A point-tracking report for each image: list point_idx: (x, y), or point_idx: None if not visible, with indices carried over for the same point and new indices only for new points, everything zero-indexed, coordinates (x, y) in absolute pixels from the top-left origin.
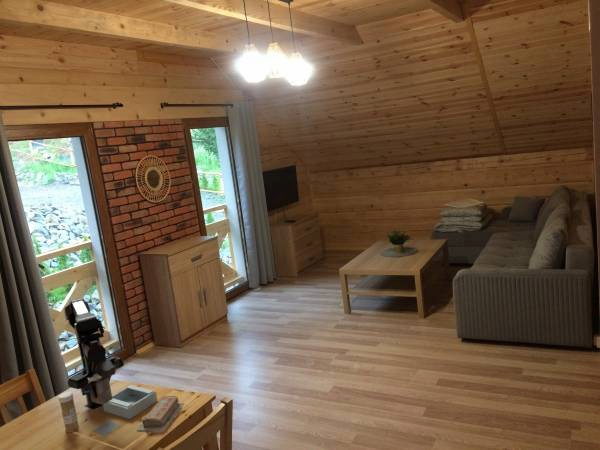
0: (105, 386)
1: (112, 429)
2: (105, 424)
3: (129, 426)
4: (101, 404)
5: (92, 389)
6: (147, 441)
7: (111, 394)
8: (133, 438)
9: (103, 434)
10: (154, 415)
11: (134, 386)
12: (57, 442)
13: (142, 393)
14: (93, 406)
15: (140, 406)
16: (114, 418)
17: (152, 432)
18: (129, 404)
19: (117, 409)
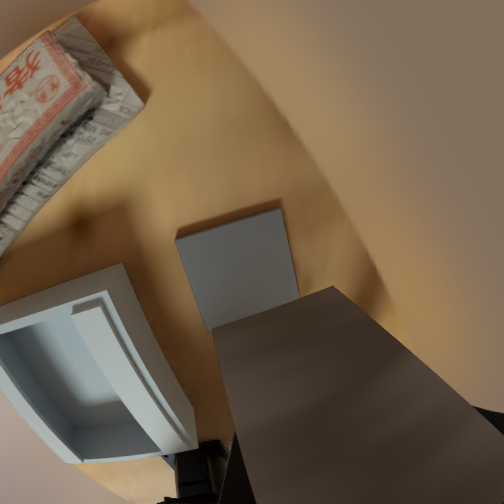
0: (355, 458)
1: (227, 234)
2: (232, 312)
3: (145, 203)
4: (189, 450)
5: (494, 413)
6: (159, 4)
7: (221, 362)
8: (186, 71)
9: (279, 224)
10: (33, 79)
11: (50, 445)
12: (391, 325)
13: (29, 396)
14: (216, 454)
15: (45, 299)
16: (175, 341)
17: (101, 48)
18: (85, 320)
19: (152, 361)
